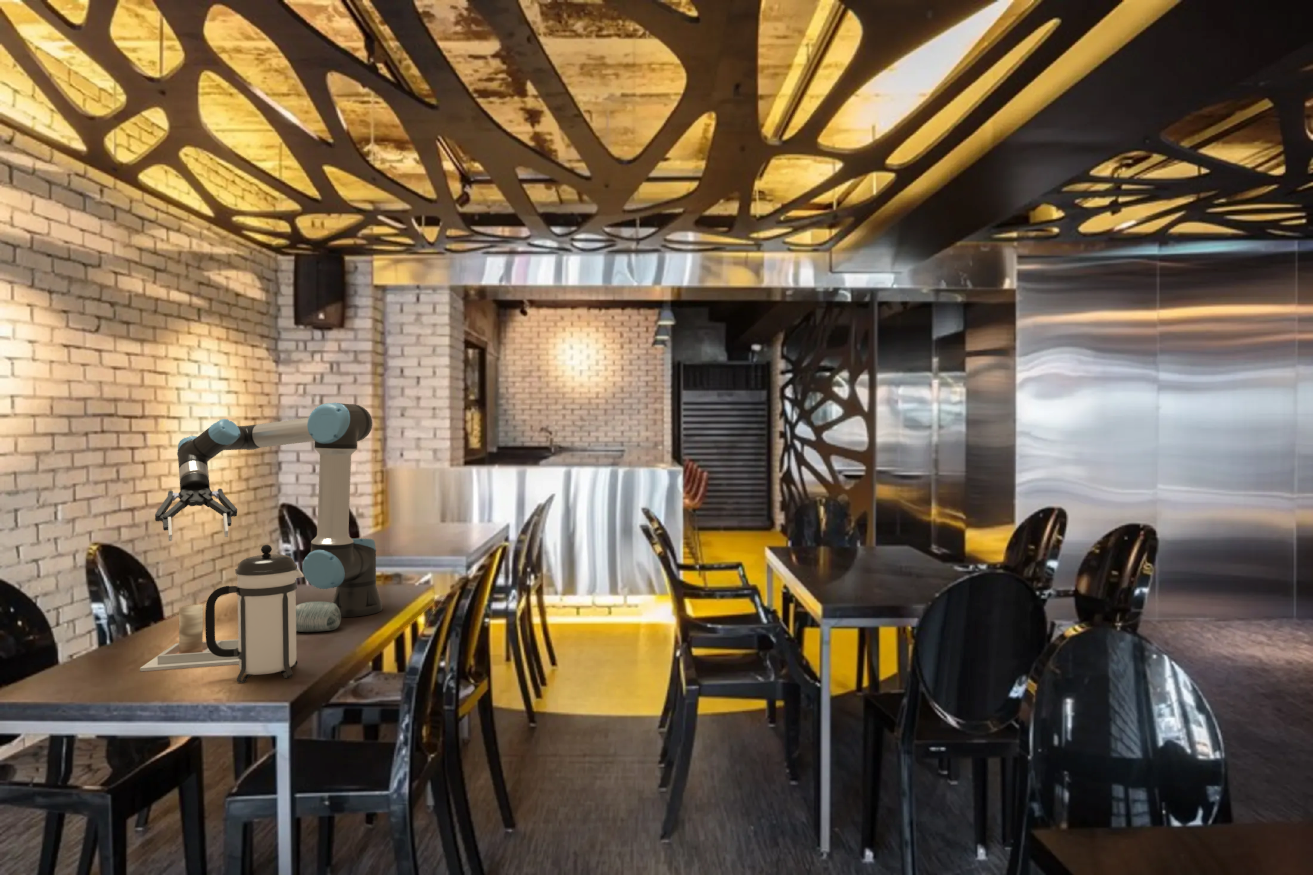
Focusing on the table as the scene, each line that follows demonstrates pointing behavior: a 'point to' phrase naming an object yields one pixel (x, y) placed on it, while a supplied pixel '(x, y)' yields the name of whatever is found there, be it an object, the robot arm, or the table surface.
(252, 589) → the coffee press
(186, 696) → the table surface
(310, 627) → the yarn ball
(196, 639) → the peg
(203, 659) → the white flat tray
